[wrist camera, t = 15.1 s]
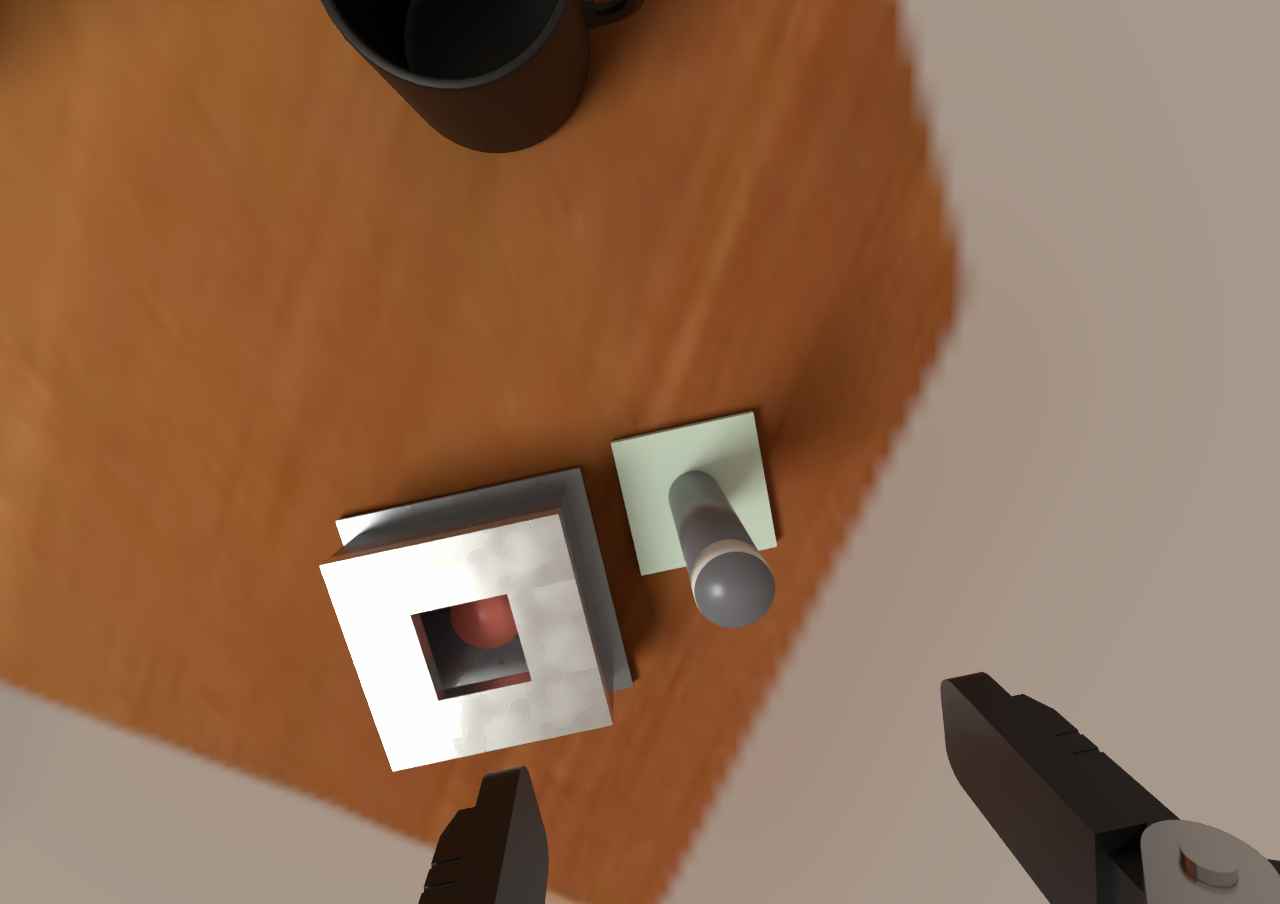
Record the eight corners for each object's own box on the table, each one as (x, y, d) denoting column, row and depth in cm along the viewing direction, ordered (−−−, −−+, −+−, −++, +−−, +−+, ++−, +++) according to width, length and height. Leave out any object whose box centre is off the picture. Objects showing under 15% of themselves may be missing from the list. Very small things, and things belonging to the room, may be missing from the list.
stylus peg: (673, 527, 35) (702, 635, 23) (662, 477, 34) (686, 562, 22) (726, 515, 34) (781, 618, 23) (716, 465, 34) (768, 544, 22)
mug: (648, 146, 31) (659, 76, 22) (411, 161, 31) (326, 98, 22) (635, -70, 29) (642, -242, 20) (381, -55, 29) (273, -222, 20)
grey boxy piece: (411, 729, 37) (380, 790, 33) (339, 518, 34) (292, 551, 30) (633, 682, 37) (635, 737, 32) (580, 465, 34) (573, 490, 29)
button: (464, 648, 35) (461, 655, 35) (445, 585, 35) (441, 592, 34) (531, 633, 35) (529, 640, 35) (514, 571, 35) (511, 577, 34)
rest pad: (641, 571, 36) (641, 575, 35) (611, 441, 34) (610, 443, 33) (774, 542, 36) (777, 546, 35) (751, 410, 34) (753, 412, 33)
